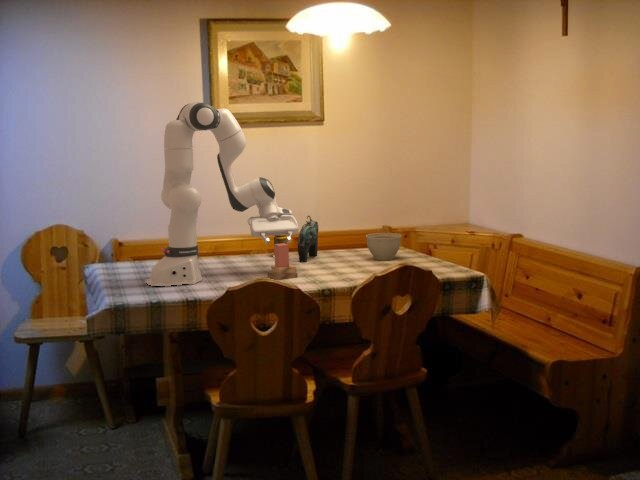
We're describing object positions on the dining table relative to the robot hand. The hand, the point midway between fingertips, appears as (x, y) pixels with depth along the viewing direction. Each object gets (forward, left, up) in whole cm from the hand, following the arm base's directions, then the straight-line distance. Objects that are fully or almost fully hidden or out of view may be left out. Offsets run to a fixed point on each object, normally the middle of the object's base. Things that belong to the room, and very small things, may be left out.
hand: (278, 242), depth 313 cm
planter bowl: (+58, +8, -14) cm, 60 cm away
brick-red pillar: (0, -3, -10) cm, 10 cm away
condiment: (+22, +43, -14) cm, 50 cm away
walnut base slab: (0, -3, -15) cm, 15 cm away
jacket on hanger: (+30, +28, -14) cm, 43 cm away
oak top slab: (0, -3, -12) cm, 12 cm away
